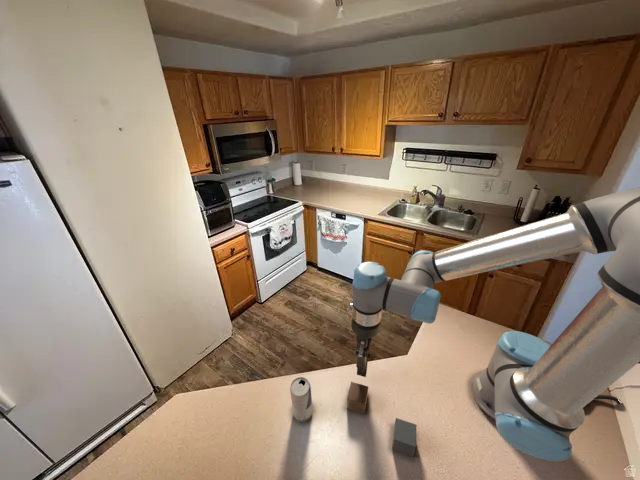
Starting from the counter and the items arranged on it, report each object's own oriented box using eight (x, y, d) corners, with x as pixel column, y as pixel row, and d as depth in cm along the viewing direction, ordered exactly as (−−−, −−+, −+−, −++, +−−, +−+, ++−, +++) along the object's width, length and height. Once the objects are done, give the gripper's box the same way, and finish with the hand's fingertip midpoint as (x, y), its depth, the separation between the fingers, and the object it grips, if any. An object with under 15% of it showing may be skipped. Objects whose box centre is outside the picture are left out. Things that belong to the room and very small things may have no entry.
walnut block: (367, 396, 75) (368, 386, 73) (364, 414, 71) (365, 403, 69) (350, 391, 77) (351, 381, 74) (346, 408, 73) (347, 398, 70)
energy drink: (315, 406, 73) (313, 380, 68) (307, 425, 69) (304, 399, 63) (299, 399, 75) (296, 373, 70) (290, 417, 71) (285, 391, 66)
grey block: (413, 434, 67) (416, 424, 64) (412, 457, 62) (415, 447, 60) (393, 428, 68) (395, 417, 66) (391, 449, 64) (393, 439, 62)
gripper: (356, 297, 73) (354, 352, 85) (346, 332, 63) (344, 390, 74) (383, 303, 71) (377, 358, 83) (377, 340, 60) (370, 398, 72)
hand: (361, 373), depth 78 cm, fingers closed
